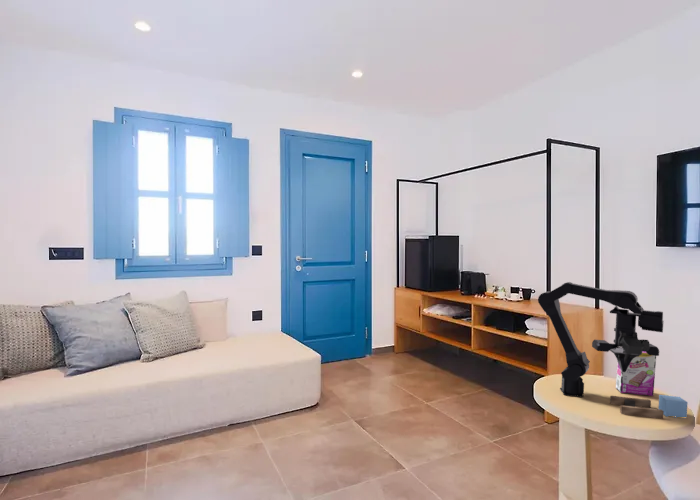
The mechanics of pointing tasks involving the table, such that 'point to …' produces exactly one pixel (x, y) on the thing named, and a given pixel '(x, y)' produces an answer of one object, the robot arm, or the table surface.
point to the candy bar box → (637, 376)
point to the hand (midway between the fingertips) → (623, 371)
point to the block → (673, 406)
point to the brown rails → (636, 407)
